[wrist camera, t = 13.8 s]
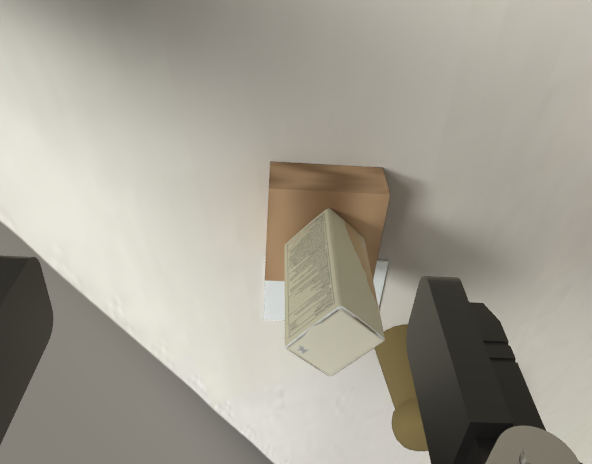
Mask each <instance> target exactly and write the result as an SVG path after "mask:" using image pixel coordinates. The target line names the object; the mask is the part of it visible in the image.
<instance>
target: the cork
mask: <svg viewBox="0 0 592 464" xmlns="http://www.w3.org/2000/svg"><path fill="white" fill-rule="evenodd" d="M407 327H408V325H400V326H395V327H392V328H390V329H388V330H386V331H385V332H384V337H385V340H384V341H383V342H382V343H380V344H379V345H377V346H376V347H375V351H376V354H377V357H378V360H379V363H380V366H381V369H382V372H383V375H384V378H385V380H386V383H387V386H388V389H389V392H390V395H391V398H392V401H393V404H394V407H395V411H394V412H393V417H392V429H393V432H394V435H395V437H396V439H397V440H398V441H399V442H400V443H401V444H402V445H403V446H404V447H405V448H407V449H409V450H414V451H428V446H427V442H426V437H425V433H424V428H423V424H422V419H421V414H420V410H419V405H418V401H417V396H416V392H415V387H414V383H413V378H412V373H411V369H410V364H409V360H408V355H407V346H406V337H407Z"/></svg>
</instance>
